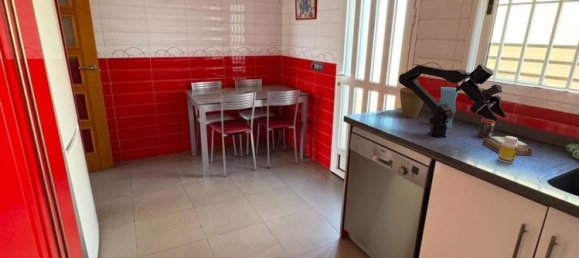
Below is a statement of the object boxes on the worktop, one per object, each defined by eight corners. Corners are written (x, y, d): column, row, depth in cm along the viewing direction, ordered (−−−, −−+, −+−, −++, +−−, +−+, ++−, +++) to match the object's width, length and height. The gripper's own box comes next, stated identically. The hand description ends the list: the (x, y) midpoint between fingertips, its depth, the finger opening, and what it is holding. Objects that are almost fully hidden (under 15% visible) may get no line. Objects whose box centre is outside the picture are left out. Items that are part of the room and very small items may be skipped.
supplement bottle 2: (513, 164, 123) (520, 140, 120) (497, 161, 126) (503, 138, 123) (513, 160, 127) (519, 137, 125) (497, 156, 130) (503, 134, 127)
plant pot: (426, 116, 189) (430, 89, 185) (418, 121, 178) (422, 93, 173) (401, 111, 198) (405, 86, 193) (392, 116, 187) (396, 89, 182)
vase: (434, 122, 177) (440, 86, 171) (449, 123, 175) (456, 88, 169) (436, 126, 170) (442, 89, 164) (452, 127, 168) (459, 90, 162)
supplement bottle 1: (493, 139, 152) (499, 116, 149) (480, 137, 153) (485, 115, 150) (489, 135, 158) (494, 113, 154) (476, 134, 159) (480, 112, 155)
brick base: (500, 154, 133) (503, 145, 132) (482, 143, 145) (484, 135, 144) (531, 155, 133) (533, 146, 132) (510, 144, 146) (512, 136, 144)
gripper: (479, 80, 127) (509, 108, 121) (497, 76, 138) (525, 103, 132) (458, 99, 135) (485, 127, 128) (477, 94, 146) (503, 120, 140)
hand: (501, 118), depth 132 cm, fingers open, 9 cm apart
